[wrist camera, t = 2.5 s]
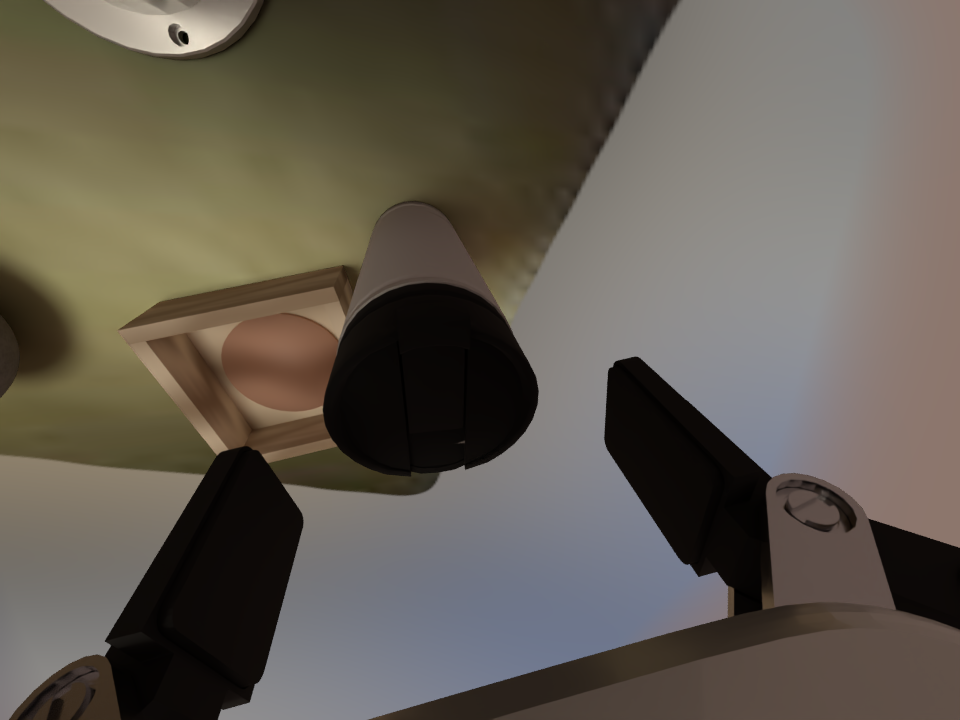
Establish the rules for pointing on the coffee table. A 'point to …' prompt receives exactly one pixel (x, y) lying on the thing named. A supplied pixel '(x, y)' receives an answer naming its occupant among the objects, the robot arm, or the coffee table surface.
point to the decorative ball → (7, 356)
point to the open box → (250, 359)
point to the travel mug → (425, 356)
